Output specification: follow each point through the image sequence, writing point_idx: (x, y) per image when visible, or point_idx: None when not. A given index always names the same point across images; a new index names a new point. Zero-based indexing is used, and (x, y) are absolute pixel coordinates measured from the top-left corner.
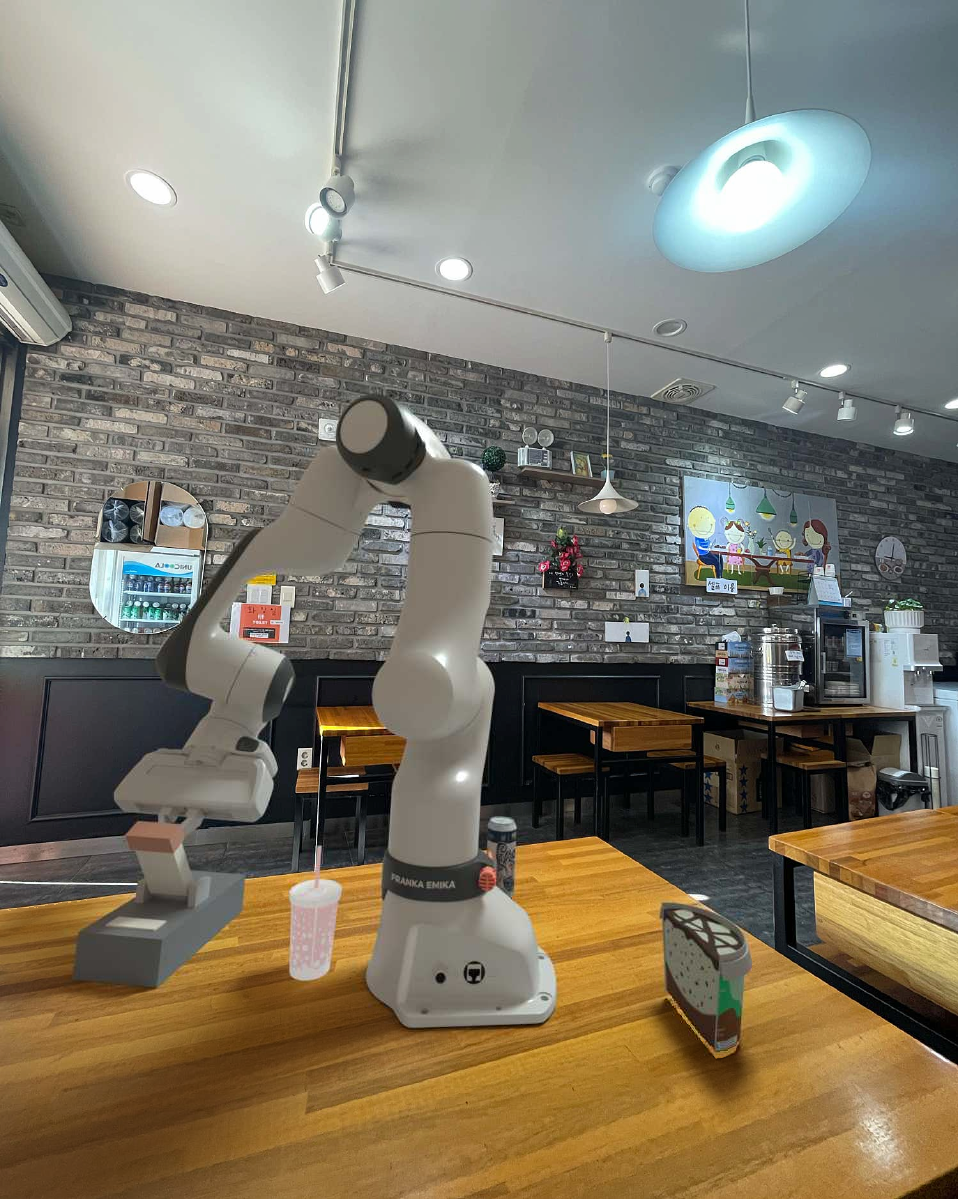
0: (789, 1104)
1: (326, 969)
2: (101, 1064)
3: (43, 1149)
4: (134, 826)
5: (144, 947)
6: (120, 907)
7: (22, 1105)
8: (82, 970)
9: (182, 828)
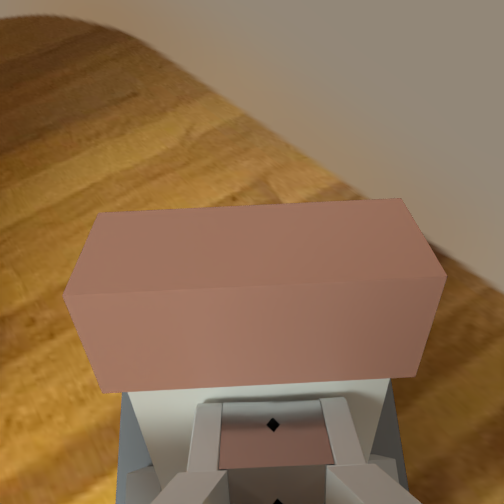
0: None
1: None
2: (120, 132)
3: (95, 36)
4: (415, 243)
5: None
6: (387, 405)
7: (168, 70)
8: None
9: (170, 485)
